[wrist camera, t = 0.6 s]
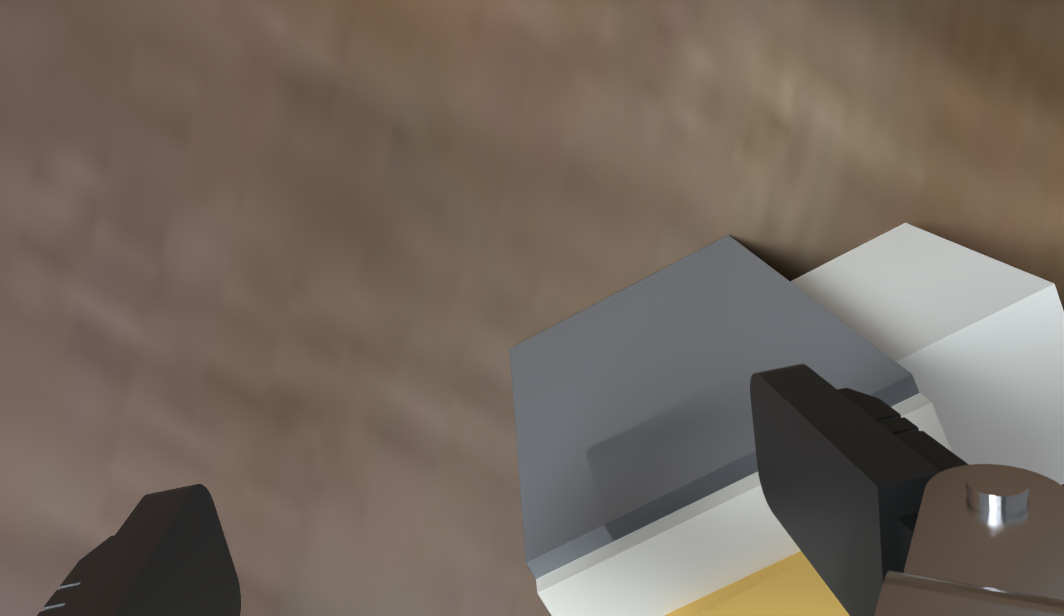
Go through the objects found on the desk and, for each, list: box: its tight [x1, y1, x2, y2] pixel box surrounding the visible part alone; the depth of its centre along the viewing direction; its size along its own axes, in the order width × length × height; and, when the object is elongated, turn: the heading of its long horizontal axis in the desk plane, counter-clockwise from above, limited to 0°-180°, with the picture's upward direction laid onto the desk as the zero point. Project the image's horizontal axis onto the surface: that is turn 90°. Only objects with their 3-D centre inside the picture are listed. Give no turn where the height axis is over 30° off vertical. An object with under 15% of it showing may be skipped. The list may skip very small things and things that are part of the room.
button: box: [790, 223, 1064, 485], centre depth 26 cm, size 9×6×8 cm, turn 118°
